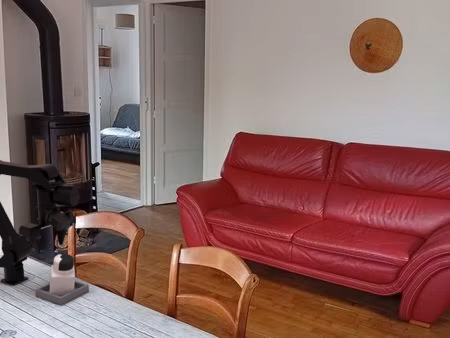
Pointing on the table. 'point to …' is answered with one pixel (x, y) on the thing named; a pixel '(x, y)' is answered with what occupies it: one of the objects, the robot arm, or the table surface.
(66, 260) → the medicine bottle
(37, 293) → the charcoal tray
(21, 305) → the table surface
